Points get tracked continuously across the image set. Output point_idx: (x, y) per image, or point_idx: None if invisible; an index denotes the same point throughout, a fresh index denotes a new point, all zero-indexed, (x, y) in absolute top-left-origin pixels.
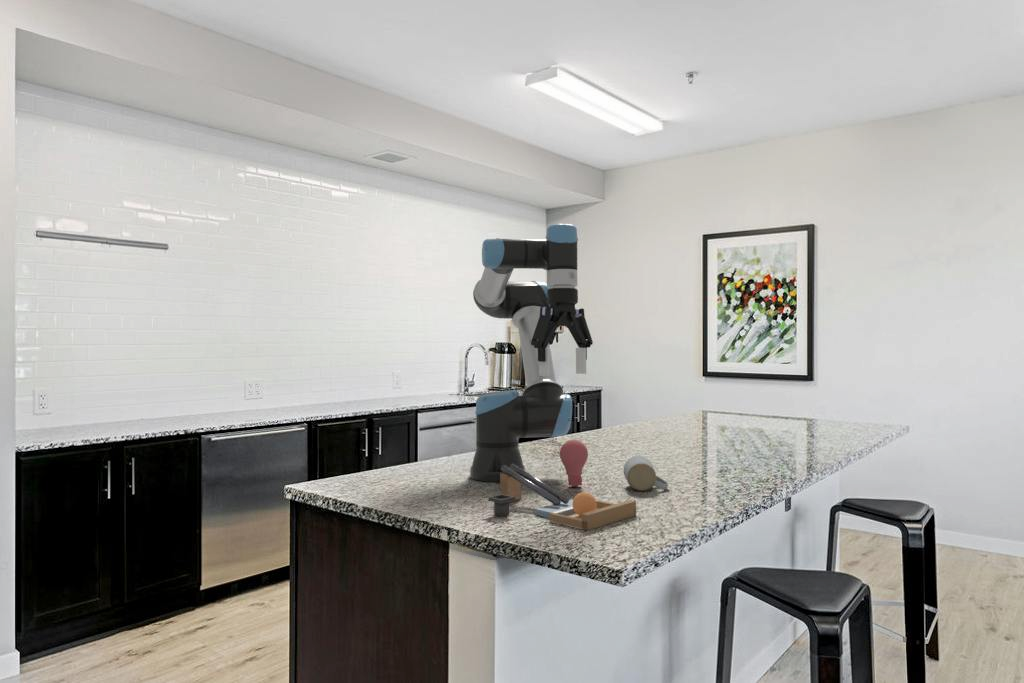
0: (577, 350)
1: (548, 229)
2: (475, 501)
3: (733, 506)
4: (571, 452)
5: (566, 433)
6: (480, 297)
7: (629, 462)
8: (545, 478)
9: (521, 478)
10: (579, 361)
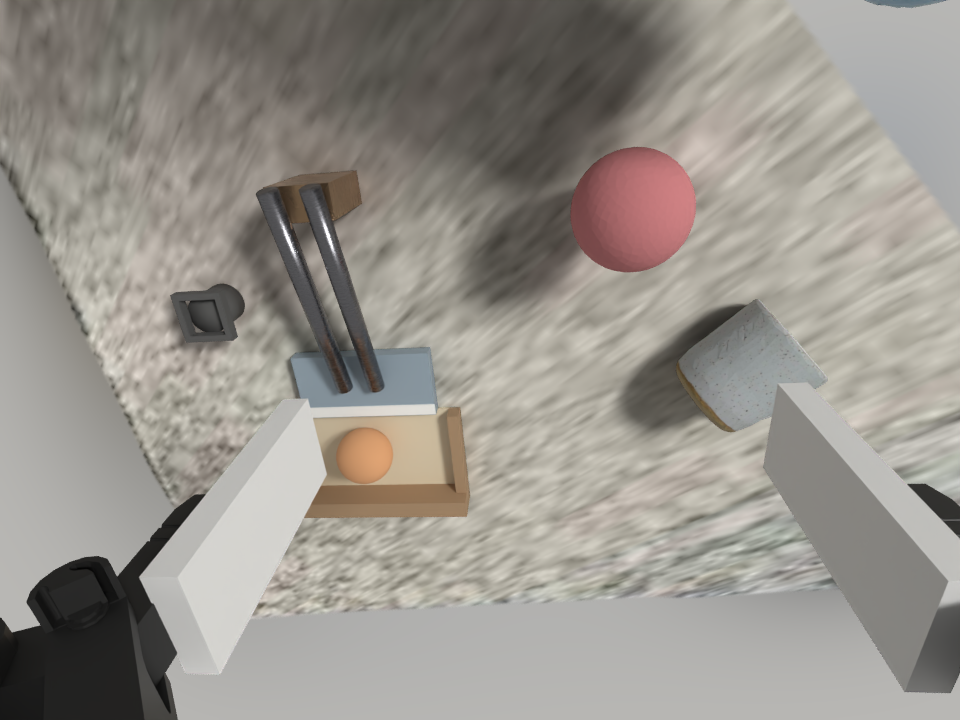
0: (909, 575)
1: None
2: (232, 124)
3: (686, 576)
4: (581, 247)
5: None
6: None
7: (746, 357)
8: None
9: (293, 283)
10: (826, 495)
